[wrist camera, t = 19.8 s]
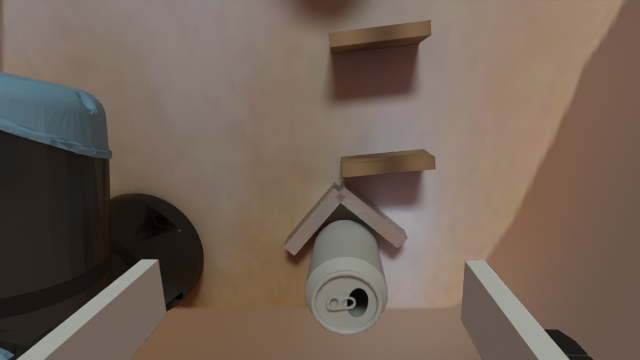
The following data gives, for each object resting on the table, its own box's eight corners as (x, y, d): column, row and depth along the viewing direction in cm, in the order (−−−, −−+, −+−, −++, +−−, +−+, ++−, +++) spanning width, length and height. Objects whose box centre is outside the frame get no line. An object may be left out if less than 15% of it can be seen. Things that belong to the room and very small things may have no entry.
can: (372, 278, 42) (383, 348, 30) (311, 271, 42) (299, 337, 30) (381, 221, 40) (396, 271, 28) (317, 213, 40) (306, 260, 29)
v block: (287, 247, 42) (284, 256, 39) (279, 187, 40) (275, 193, 37) (404, 238, 40) (408, 247, 38) (400, 176, 39) (404, 181, 36)
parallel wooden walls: (342, 167, 39) (342, 177, 34) (330, 41, 36) (328, 33, 31) (423, 159, 38) (435, 169, 33) (418, 30, 35) (430, 20, 30)
